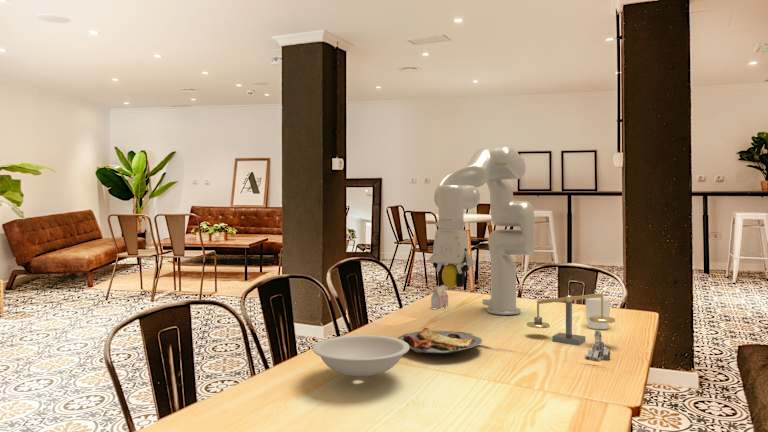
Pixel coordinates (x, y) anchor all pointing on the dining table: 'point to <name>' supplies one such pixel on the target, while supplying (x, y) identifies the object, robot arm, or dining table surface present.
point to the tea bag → (439, 298)
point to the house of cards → (598, 349)
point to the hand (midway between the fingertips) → (451, 285)
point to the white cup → (597, 311)
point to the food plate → (440, 341)
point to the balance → (569, 319)
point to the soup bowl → (361, 353)
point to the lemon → (450, 275)
